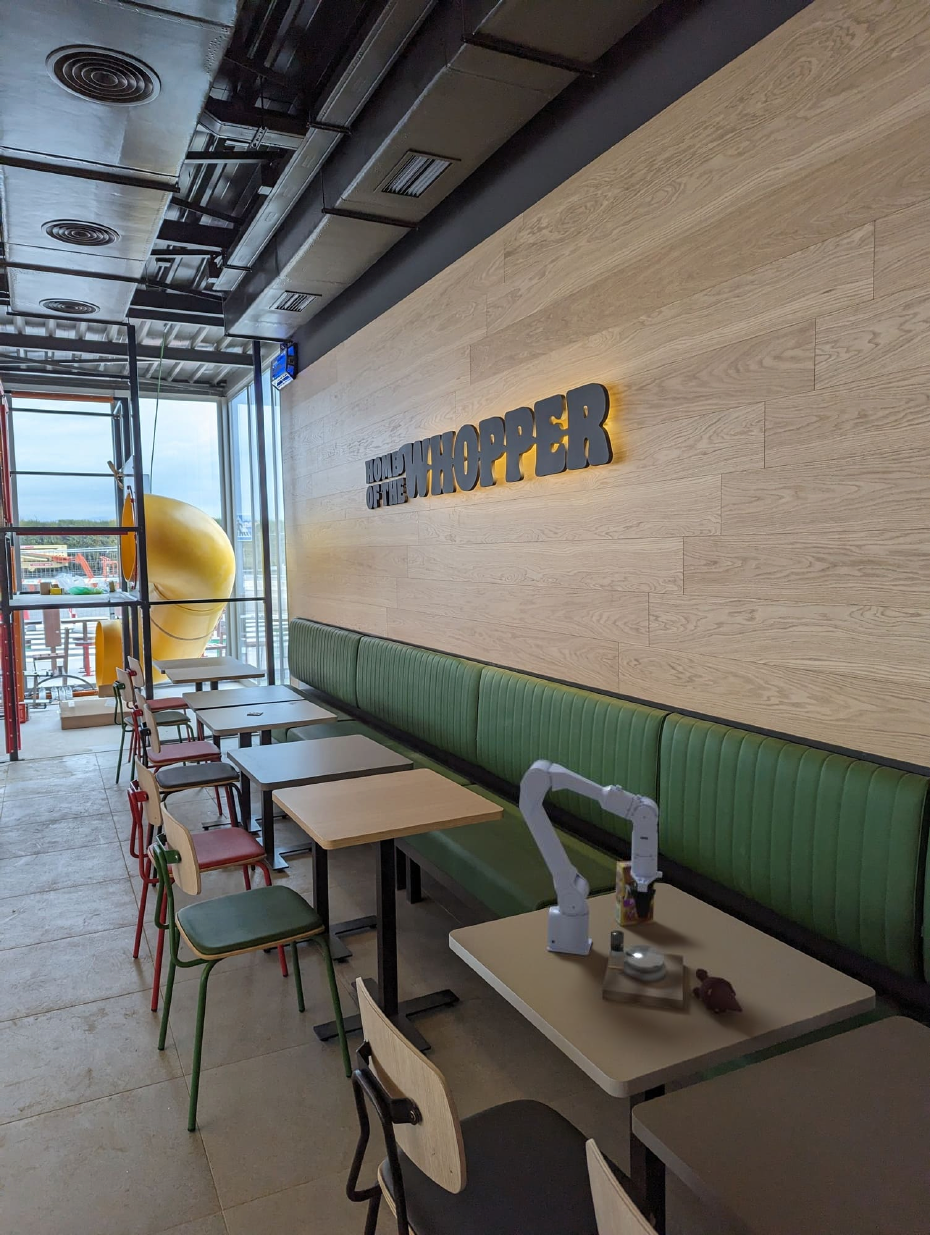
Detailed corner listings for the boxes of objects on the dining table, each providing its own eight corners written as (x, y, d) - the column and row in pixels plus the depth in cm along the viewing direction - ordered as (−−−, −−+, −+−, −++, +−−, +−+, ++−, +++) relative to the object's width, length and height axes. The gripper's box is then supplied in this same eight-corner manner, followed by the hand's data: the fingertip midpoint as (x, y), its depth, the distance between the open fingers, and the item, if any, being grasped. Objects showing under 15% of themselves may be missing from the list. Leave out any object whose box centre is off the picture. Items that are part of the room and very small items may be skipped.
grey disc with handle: (666, 958, 180) (666, 933, 180) (660, 975, 173) (661, 948, 173) (614, 949, 185) (614, 924, 184) (606, 965, 177) (607, 939, 177)
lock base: (602, 998, 171) (602, 982, 171) (611, 955, 190) (611, 940, 190) (682, 1009, 167) (682, 993, 166) (683, 964, 186) (683, 949, 186)
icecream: (760, 994, 161) (713, 965, 175) (729, 990, 158) (684, 962, 172) (754, 1030, 160) (707, 999, 174) (723, 1027, 158) (677, 996, 172)
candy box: (621, 927, 205) (622, 866, 204) (614, 919, 209) (615, 860, 209) (654, 923, 207) (655, 864, 206) (647, 916, 211) (648, 858, 210)
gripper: (661, 865, 181) (660, 926, 182) (663, 844, 195) (662, 900, 195) (628, 862, 183) (627, 922, 183) (632, 841, 197) (631, 897, 197)
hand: (643, 911), depth 190 cm, fingers open, 7 cm apart
